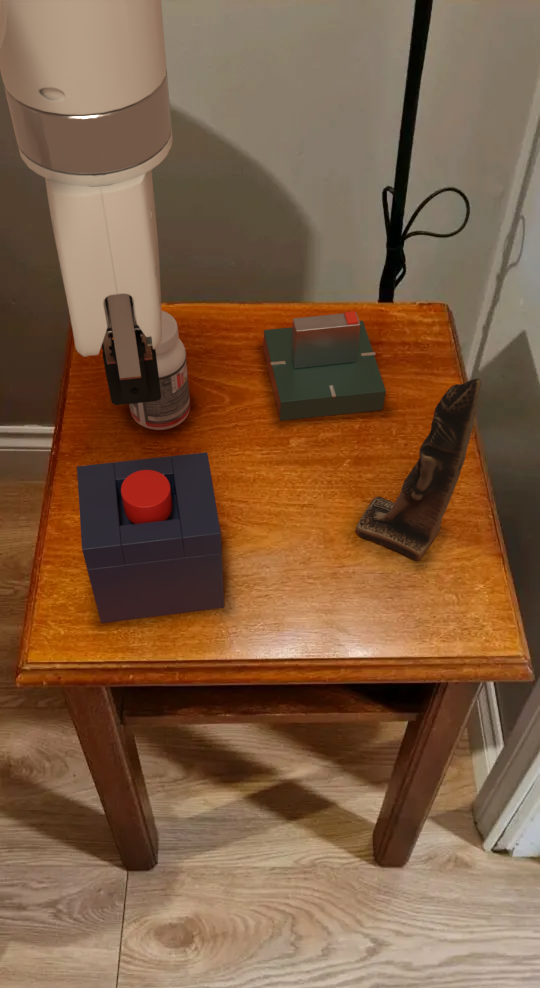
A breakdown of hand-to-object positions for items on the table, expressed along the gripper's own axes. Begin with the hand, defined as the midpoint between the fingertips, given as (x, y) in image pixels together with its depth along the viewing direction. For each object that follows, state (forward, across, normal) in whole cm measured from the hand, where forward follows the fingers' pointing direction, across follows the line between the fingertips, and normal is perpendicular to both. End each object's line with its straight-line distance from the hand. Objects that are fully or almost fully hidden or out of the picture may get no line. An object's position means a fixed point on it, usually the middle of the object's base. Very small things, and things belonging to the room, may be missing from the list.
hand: (135, 393), depth 59 cm
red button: (+11, 0, 0) cm, 12 cm away
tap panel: (+21, -21, +18) cm, 34 cm away
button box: (+20, 0, 0) cm, 20 cm away
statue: (+21, -1, +20) cm, 29 cm away
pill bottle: (+21, -19, +2) cm, 28 cm away
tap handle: (+18, -21, +18) cm, 33 cm away
